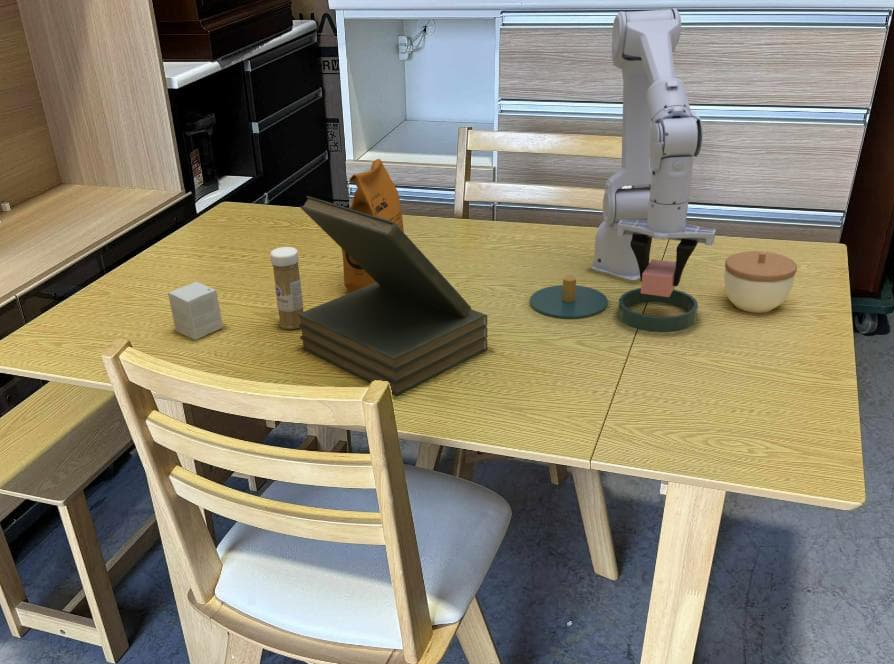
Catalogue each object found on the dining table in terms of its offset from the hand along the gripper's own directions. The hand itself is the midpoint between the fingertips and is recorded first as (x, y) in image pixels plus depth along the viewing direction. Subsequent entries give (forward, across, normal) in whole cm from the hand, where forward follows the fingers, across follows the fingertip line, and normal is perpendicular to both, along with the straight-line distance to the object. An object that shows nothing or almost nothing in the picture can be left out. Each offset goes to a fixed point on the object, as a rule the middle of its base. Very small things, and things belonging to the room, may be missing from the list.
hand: (659, 281), depth 139 cm
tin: (+7, 0, 0) cm, 7 cm away
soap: (+1, 0, 0) cm, 1 cm away
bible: (+7, -36, -25) cm, 44 cm away
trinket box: (+7, +14, +10) cm, 18 cm away
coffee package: (+7, -51, -3) cm, 51 cm away
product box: (+7, -71, -31) cm, 77 cm away
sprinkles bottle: (+7, -56, -23) cm, 61 cm away
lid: (+6, -15, 0) cm, 16 cm away
